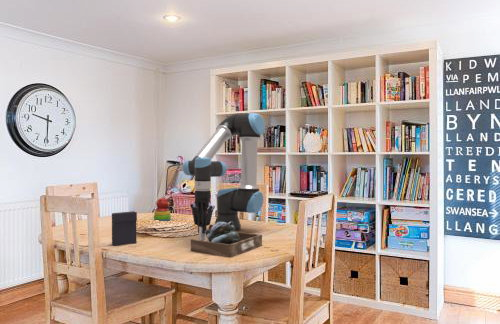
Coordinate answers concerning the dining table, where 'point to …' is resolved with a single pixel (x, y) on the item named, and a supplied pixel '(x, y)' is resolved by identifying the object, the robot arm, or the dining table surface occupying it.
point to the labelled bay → (228, 245)
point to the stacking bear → (162, 210)
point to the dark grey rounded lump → (222, 233)
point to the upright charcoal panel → (124, 228)
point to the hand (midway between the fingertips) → (201, 240)
